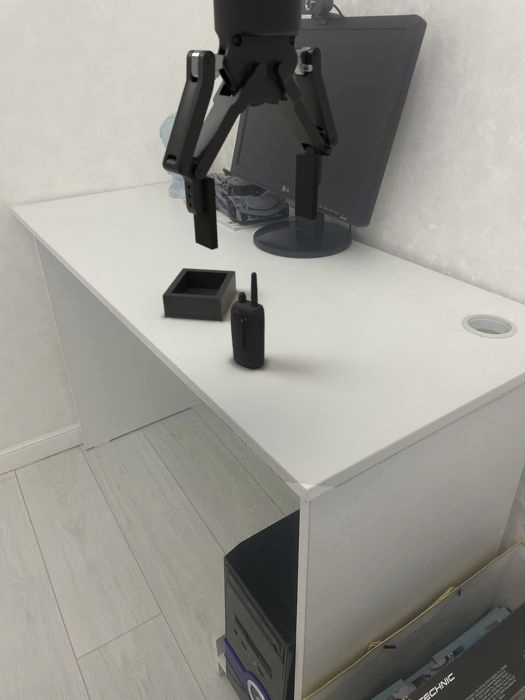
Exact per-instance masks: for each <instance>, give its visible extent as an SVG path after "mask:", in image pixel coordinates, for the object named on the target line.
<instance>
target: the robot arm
mask: <svg viewBox="0 0 525 700" xmlns="http://www.w3.org/2000/svg"><path fill="white" fill-rule="evenodd" d="M212 3H213V4H212V5H213V6H212V7H213V27H214V29H213V30H214V32H215V34H216V35H217V38H218V49H217V52H216V53H214V51H213V50H208V49H207V50H206V49H190V50H189V51H187V54H186V57H185V58H186V59H185V61H186V63H185V64H186V68H185V69H186V70H185V77H186V78H185V83H184V86H183V90H182V93H181V97H180V100H179V103H178V107H177V110H176V114H175V116H174V120H173V124H172V127H171V128H172V129H171V130H170V134H169V138H168V141H167V145H166V148H165V152H164V154H163V158H162V162H161V165H162V168H163V170H164V171H166V172H169V173H173V174H176V175H178V176H179V175H180V176H181V177H182V178H183V183H184V195H185V207H186V210H187V212H188V213H190V214H192V215H193V227H194V241H195V244H197V245H199V246H202V247H204V248H207V249H209V250H211V251H213V250H216V249H219V238H218V237H219V236H218V219H217V217H218V216H217V200H216V199H217V198H216V197H217V196H216V180H215V177H210V176H207V175H208V173H209V171H210V170H211V167H212V165H213V164H214V162H215V160H216V159H217V156H219V155H218V154H219V153H220V151H221V149H222V147H223V146H224V144H225V141H226V139H227V138H228V136H229V135H230V132H231V131H232V129H233V127H234V126H235V124H236V121H237V119H238V118H239V116H240V115H241V114H243V113H244V112H245V111H246V110H247V108H248V107H251V108H254V107H260V106H263V105H271V106H272V105H273V106H275V107H276V108H277V110H278V112H279V113H280V115H281V117H282V118H283V121H284V122H285V123H286V125H287V126H288V128H289V130H290V131H291V134H292V135H293V137H294V139H295V140H296V142H297V143H298V145H299V147H300V148H301V150H302V152H304V153H298V154H296V155H295V183H294V184H295V186H294V187H295V188H294V216H297V217H299V218H300V217H301V218H303V219H307V220H310V221H315V220H317V218H318V217H317V215H318V214H317V213H318V200H319V199H318V195H319V186H321V183H322V173H323V172H322V171H323V157H325V158H328V157H330V156H331V155H332V151H333V150H332V149H333V148H336V146H337V145H338V144H339V135H338V132H337V128H336V125H335V121H334V117H333V114H332V113H333V112H332V109H331V105H330V103H329V98H328V93H327V90H326V85H325V82H324V78H323V74H322V52H321V49H320V48H319V47H317V46H298V47H296V44H295V43H296V41H295V40H296V37H297V36H299V34H300V33H301V31H302V24H303V23H302V21H303V19H302V18H303V13H302V12H303V0H212ZM293 75H294V76H295V80H296V81H295V80H294V78H293ZM219 77H220V78H221V80H222V81H221V83H220V85H219V86H218V88H217V90H216V92H215V94H214V95H213V93H214V88H215V82H216V79H218V78H219ZM212 95H213V98H212ZM211 98H212V102H213V104H212V105H211V108H210V109H209V106H210V102H211ZM208 109H209V112H207V111H208ZM207 113H208V114H207Z"/></svg>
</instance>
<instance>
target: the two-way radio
mask: <svg viewBox="0 0 525 700" xmlns="http://www.w3.org/2000/svg"><path fill="white" fill-rule="evenodd" d="M258 292H259V291H258V274H257V272H256V271H252V272H251V274H250V300H249V299H248V298H247V295H246V292H245V291H239V292H238V296H237V300H236V301H234V302H233V303H232V306H231V307H230V333H231V335H230V336H231V346H232V356H233V361H234V362H235V363H237V364H239V365H241V366H244V367H246V368H251V369H256V368H260V367H262V366H263V365H264V363H265V352H266V351H265V350H266V349H265V348H266V345H265V344H266V343H265V342H266V340H265V339H266V338H265V336H266V333H265V331H266V316H265V315H266V314H265V308H264V305H263V304H261V303H259V293H258Z"/></svg>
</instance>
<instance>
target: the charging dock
mask: <svg viewBox="0 0 525 700" xmlns="http://www.w3.org/2000/svg"><path fill="white" fill-rule="evenodd" d="M236 277H237V276H236V271H235V270H225V269H224V270H223V269H209V268H208V269H206V268H187V267H183V268H182V269H181V270H180V271H179V273H178V274H177V276H175V278H174V279H173V281H172V282H171V283H170V284H169V286H168V287H167V288H166V290H165V291H164V293H163V294H162V295H161V296H162V304H163V312H164V318H173V319H185V320H201V321H214V322H215V321H216V322H222V321H223V320H224V318H225V316H226V313H227V311H228V309H229V307H230V306H231V303H232V301H233V299H234V297H235V295H236V293H237V278H236Z"/></svg>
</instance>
